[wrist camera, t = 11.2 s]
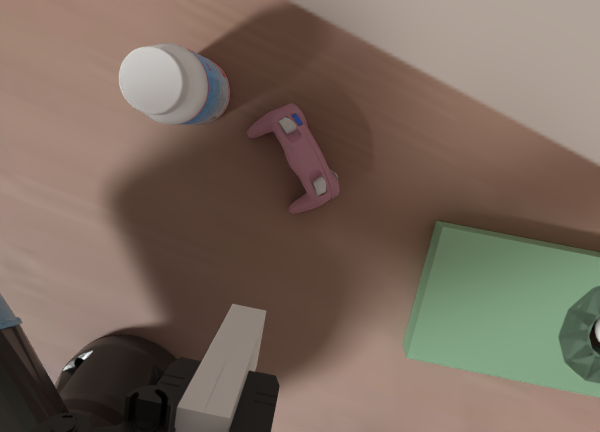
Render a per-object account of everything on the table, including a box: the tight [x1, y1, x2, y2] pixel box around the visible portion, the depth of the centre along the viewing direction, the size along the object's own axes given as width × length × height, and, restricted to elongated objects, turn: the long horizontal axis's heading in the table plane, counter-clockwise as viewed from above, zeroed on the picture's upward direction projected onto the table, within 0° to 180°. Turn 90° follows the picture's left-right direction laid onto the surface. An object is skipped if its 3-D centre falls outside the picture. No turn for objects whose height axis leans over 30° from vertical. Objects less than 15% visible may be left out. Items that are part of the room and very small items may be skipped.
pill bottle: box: [119, 43, 230, 125], centre depth 34 cm, size 6×6×11 cm
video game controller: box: [247, 103, 340, 214], centre depth 38 cm, size 10×5×7 cm, turn 29°
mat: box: [403, 221, 600, 398], centre depth 41 cm, size 26×14×2 cm, turn 80°
